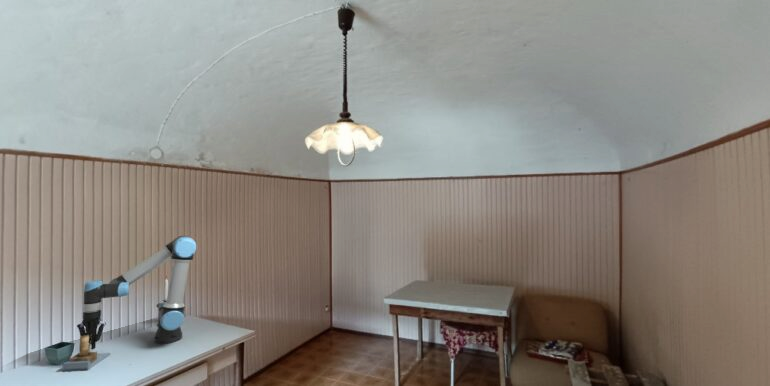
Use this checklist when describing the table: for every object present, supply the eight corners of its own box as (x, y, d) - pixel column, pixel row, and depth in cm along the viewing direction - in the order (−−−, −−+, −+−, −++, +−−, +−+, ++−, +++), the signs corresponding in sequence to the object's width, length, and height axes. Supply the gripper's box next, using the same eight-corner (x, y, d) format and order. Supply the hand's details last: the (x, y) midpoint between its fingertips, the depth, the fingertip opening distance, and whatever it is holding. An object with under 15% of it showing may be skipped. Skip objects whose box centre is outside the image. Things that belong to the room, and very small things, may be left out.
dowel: (89, 360, 188) (90, 334, 188) (85, 363, 184) (86, 337, 185) (81, 360, 187) (83, 335, 188) (77, 363, 184) (78, 337, 184)
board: (110, 354, 199) (110, 347, 199) (87, 370, 181) (87, 362, 181) (87, 356, 198) (88, 348, 198) (62, 371, 179) (63, 363, 179)
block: (96, 359, 190) (97, 351, 190) (86, 365, 182) (87, 357, 183) (80, 360, 189) (80, 352, 189) (69, 366, 181) (69, 358, 181)
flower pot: (56, 367, 184) (57, 349, 184) (43, 365, 186) (43, 347, 186) (74, 359, 193) (75, 342, 193) (61, 358, 194) (62, 341, 195)
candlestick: (164, 328, 243) (166, 276, 244) (151, 326, 246) (153, 275, 248) (177, 323, 253) (179, 273, 255) (165, 321, 257) (167, 272, 258)
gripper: (109, 308, 197) (108, 351, 196) (83, 308, 195) (81, 352, 194) (101, 312, 189) (99, 357, 188) (73, 312, 187) (71, 358, 186)
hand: (90, 355), depth 191 cm, fingers closed
